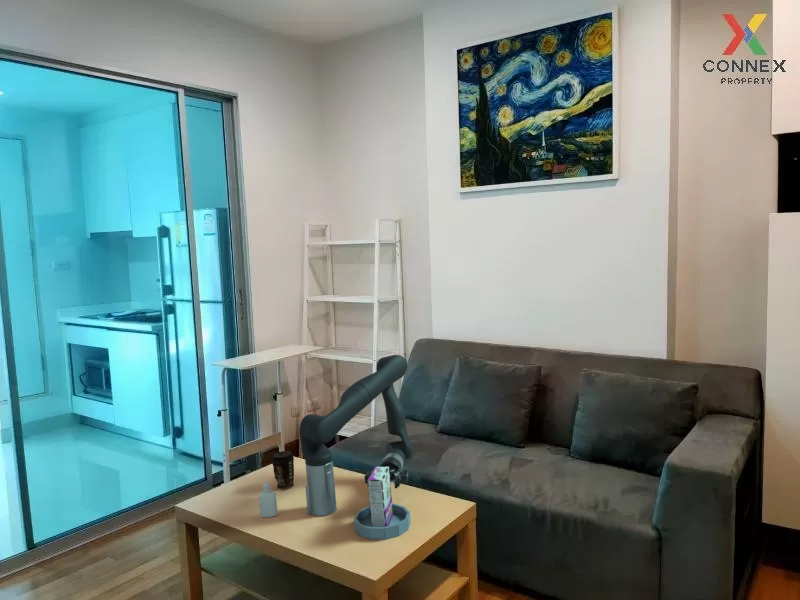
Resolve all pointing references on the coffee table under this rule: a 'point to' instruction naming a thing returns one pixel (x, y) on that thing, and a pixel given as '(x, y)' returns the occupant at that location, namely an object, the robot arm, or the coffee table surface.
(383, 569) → the coffee table surface
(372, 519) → the candy bar box
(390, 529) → the bowl
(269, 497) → the eye dropper bottle
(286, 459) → the coffee cup
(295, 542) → the coffee table surface
